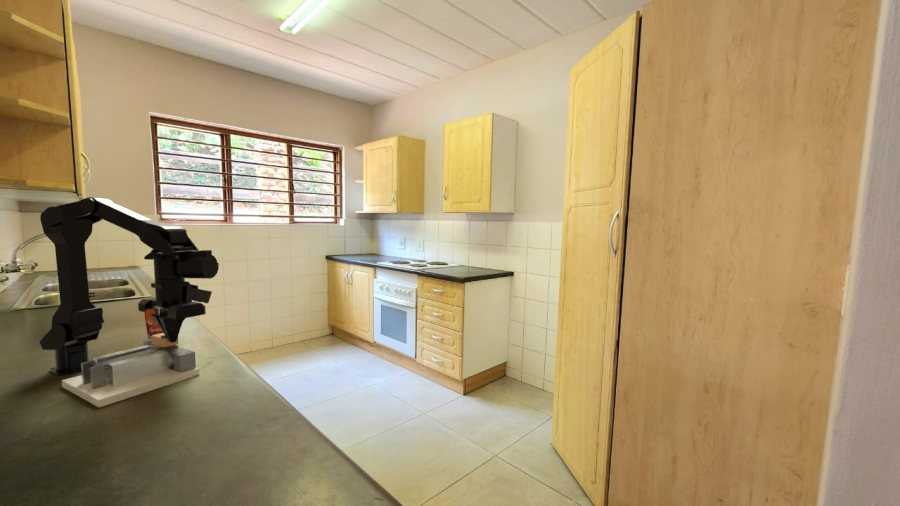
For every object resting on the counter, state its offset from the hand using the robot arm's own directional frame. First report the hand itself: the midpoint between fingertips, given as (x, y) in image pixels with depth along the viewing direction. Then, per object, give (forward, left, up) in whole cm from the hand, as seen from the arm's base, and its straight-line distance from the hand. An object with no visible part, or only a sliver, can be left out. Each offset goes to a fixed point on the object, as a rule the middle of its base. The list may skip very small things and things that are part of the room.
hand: (173, 342), depth 87 cm
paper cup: (-22, +7, -8) cm, 24 cm away
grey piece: (-2, -7, -6) cm, 9 cm away
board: (-3, -7, -7) cm, 11 cm away
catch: (-4, 0, -1) cm, 4 cm away
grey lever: (-3, -6, -2) cm, 7 cm away
